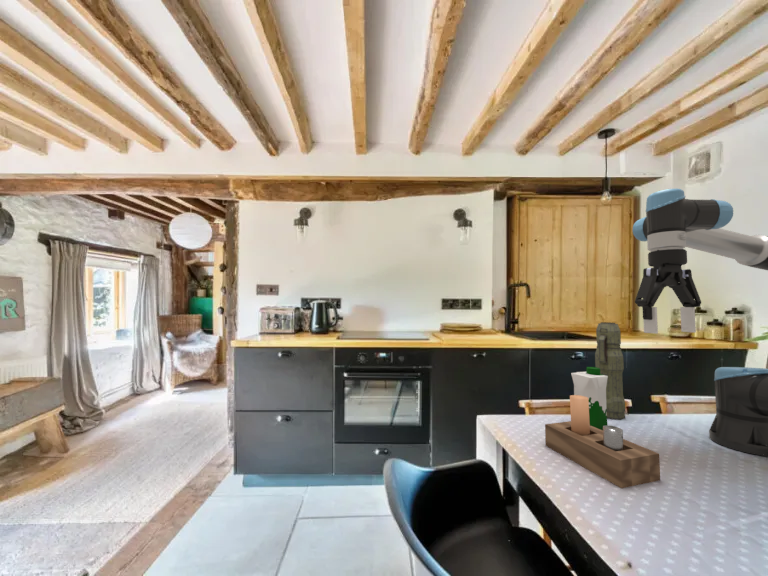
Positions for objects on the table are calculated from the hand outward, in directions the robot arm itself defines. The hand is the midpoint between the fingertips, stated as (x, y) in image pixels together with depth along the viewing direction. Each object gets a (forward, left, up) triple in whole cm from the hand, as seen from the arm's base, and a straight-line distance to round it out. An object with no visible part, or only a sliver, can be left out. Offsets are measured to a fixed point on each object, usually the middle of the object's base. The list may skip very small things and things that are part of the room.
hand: (670, 332), depth 81 cm
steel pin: (+16, -3, -34) cm, 37 cm away
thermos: (-23, -35, -35) cm, 55 cm away
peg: (+16, -13, -34) cm, 39 cm away
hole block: (+16, -8, -35) cm, 39 cm away
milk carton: (-5, -28, -35) cm, 45 cm away
